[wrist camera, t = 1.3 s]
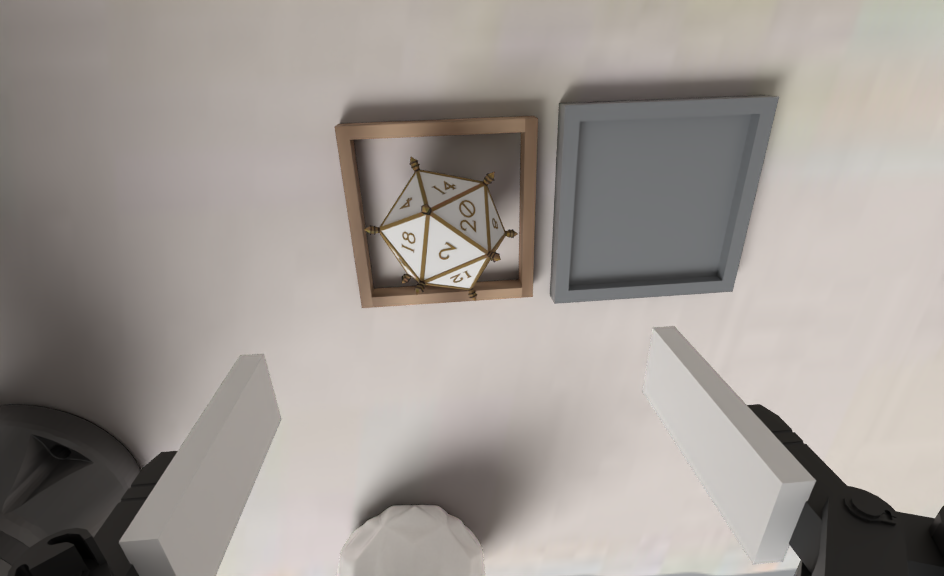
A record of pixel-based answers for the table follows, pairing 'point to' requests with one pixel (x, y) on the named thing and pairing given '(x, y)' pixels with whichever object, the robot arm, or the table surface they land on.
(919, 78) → the table surface
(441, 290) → the corral
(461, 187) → the game die
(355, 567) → the vase
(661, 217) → the tray
